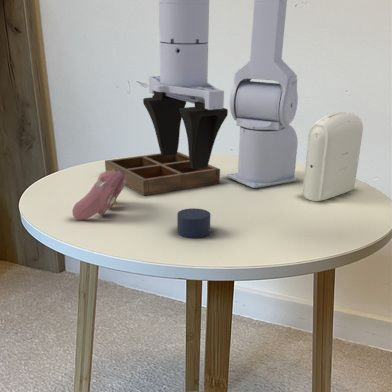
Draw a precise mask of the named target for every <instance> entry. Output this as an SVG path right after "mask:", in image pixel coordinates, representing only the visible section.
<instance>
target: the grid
mask: <svg viewBox="0 0 392 392" xmlns="http://www.w3.org/2000/svg"><path fill="white" fill-rule="evenodd" d="M104 167H105V172H106V171H112V170H113V169H114V170H115V171H116V172H118V171H119V172H122V173H124V175H126V176H127V181H126V183H125V186H126V187H127V188H129V189H131V190H133V191H135V192H137V193H138V194H140V195H142V196H144V197H145V196H151V195H157V194H163V193H168V192H175V191H182V190H186V189H195V188H199V187H205V186H210V185H217V184H218V185H219V184H220V183H221V182H220V181H221V169H220V168H218V167H217V166H214V165H212V164H209V163H208V166H207V167H205V168H198V169H193V168H191V165H190V161H189V155H186V154H184V153H182V152H179V151H177V154H174V155H166V156H163V155H161V152H160V153H151V154H145V155H135V156H128V157H121V158H114V159H113V158H112V159H107V160H104Z"/></svg>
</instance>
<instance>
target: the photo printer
mask: <svg viewBox="0 0 392 392" xmlns="http://www.w3.org/2000/svg"><path fill="white" fill-rule="evenodd" d="M363 125H364V124H363V121H362V119H361V118H360V116H358V115H356V114H354V113H351V112H347V111H346V112H345V111H337V112H333V113H332V112H331V113H329V114H327V115H325V116H323V117H321V118H319V119H318V120H317V121H316V122H314V123H313V124H312V126H311V127H310V128H309V130H308V131H309V132H308V135H307V146H306V155H305V167H304V174H303V175H304V176H303V184H302V195H303V197H304V198H305V199H306V200H309V201H313V202H320V201H324V200H328V199H331V198H334V197H337V196H340V195H343V194H345V193H348V192H351V191H353V190H354V189H355V185H356V179H357V173H358V172H357V171H358V166H359V160H360V159H359V158H360V152H361V145H362V138H363V131H364V126H363Z"/></svg>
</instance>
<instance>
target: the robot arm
mask: <svg viewBox="0 0 392 392" xmlns="http://www.w3.org/2000/svg"><path fill="white" fill-rule="evenodd" d="M287 7H288V0H253V14H252V26H251V41H250V56H249V60H248V61H247V62H246V63H244V64H243V65H242V66H241V67H239V68H238V69H237V70H236V71H235V73H234V75H233V84H232V88H231V92H230V96H229V109H228V108H225V106H224V104H225V103H224V102H225V91H224V90H223V89H220V88H217V87H216V86H214V85H212V84H211V83H210V82H208V79H209V77H208V75H209V74H208V72H209V30H210V29H209V28H210V0H158V19H159V20H158V28H159V31H158V33H159V36H158V38H159V75H155V76H148V93H150V94H152V95H151V96H152V97H144V98H143V99H142V102H143V103H142V104H143V105H144V106H145V109H146V110H147V113H148V115H149V117H150V119H151V123H152V125H153V128H154V132H155V135H156V136H155V137H156V139H157V143H158V147H159V148H158V149H159V152H160V153H161V155H163V156H166V155H174V154H177V152H179V144H180V132H181V125H182V124H181V123H182V121H183V125H184V127H185V133H186V138H187V147H188V149H187V151H188V156H189V161H190V165H191V168H193V169H198V168H205V167H207V166H208V164H209V163H210V159H211V156H212V152H213V149H214V145H215V142H216V138H217V136H218V133H219V131H220V129H221V127H222V125H223V124H224V122H225V120H226V118H227V117H228V115H229V114H228V113H229V112H230V114H231V116H232V119H233V120H235V122H236V126H237V127H239V140H238V141H239V144H238V160H237V161H238V162H237V164H238V165H237V172H234V173H228V174H226V177H227V178H228V179H231V180H234V182H235V181H236V182H238V183H240V184H243V185H244V186H247V187H250V188H252V189H258V188H263V187H269V186H275V185H280V184H286V183H287V184H288V183H292V182H297V181H298V177H297V176H296V175H295V174H296V165H297V154H298V153H297V152H298V136H297V135H298V134H297V132H296V130H295V129H294V127H293V126H292V125H291V123H292V122H293V121H294V119H295V116H296V114H297V109H298V104H299V103H298V101H299V99H298V98H299V95H298V75H297V74H296V72H295V71H294V70H292V68H291V67H290V66H289V65H288V64H287V63H286V62H285V61H284V60H283V47H284V37H285V27H286V17H287ZM252 80H261V81H252ZM267 81H273V82H267ZM187 103H190V104H193V105H194V106H187ZM186 106H187V107H186ZM228 110H229V111H228Z"/></svg>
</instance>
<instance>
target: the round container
mask: <svg viewBox="0 0 392 392" xmlns="http://www.w3.org/2000/svg"><path fill="white" fill-rule="evenodd" d="M176 216H177V217H176V218H177V219H176V220H177V221H176V222H177V223H176V224H177V227H176V229H177V230H176V231H177V234H178V235H179V236H181V237H184V238H189V239H199V238H204V237H207V236H210V234H211V212H210V211H209V210H206V209H202V208H194V207H193V208H191V207H190V208H185V209H180V210H179V211H178V212H177V214H176Z"/></svg>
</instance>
